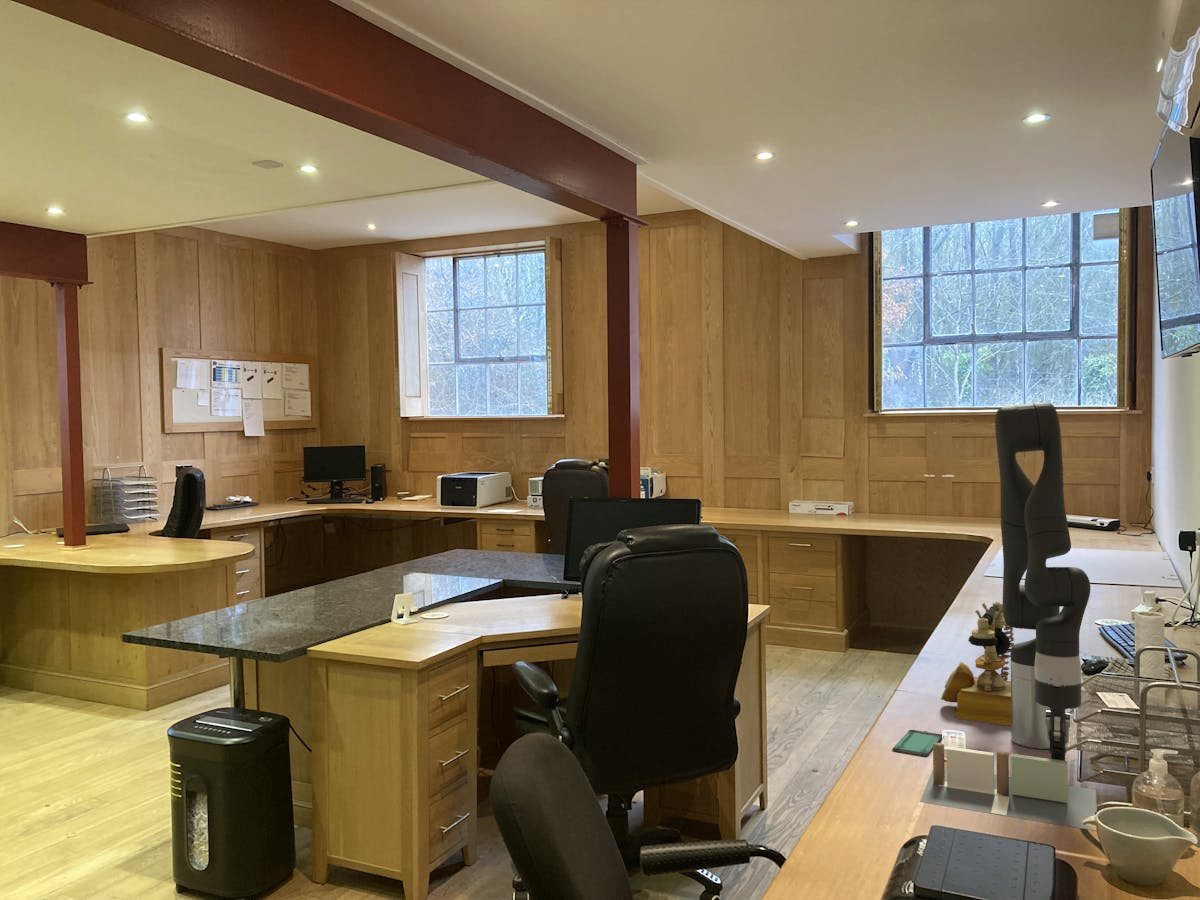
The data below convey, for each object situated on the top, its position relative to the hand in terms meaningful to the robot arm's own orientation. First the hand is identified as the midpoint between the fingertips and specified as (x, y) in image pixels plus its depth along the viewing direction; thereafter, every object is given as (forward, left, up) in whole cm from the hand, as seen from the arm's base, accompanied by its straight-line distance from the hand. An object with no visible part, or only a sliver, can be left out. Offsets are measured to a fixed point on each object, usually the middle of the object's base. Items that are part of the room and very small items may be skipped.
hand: (1058, 773), depth 165 cm
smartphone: (-18, -27, -5) cm, 33 cm away
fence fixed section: (+3, -14, -4) cm, 15 cm away
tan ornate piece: (-52, -17, -5) cm, 54 cm away
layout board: (+4, -8, -4) cm, 10 cm away
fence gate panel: (+3, -3, -4) cm, 6 cm away
